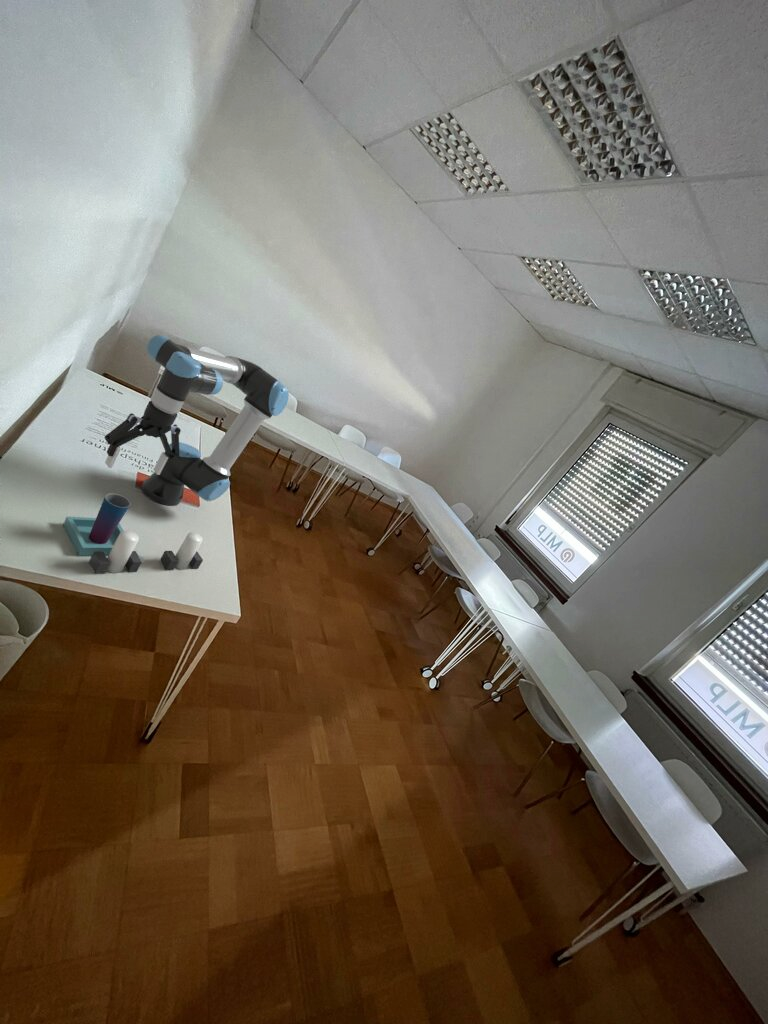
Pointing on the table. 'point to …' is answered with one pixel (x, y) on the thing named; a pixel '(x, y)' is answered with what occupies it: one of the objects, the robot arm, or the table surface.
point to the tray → (87, 536)
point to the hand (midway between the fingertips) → (133, 469)
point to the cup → (108, 517)
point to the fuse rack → (130, 559)
